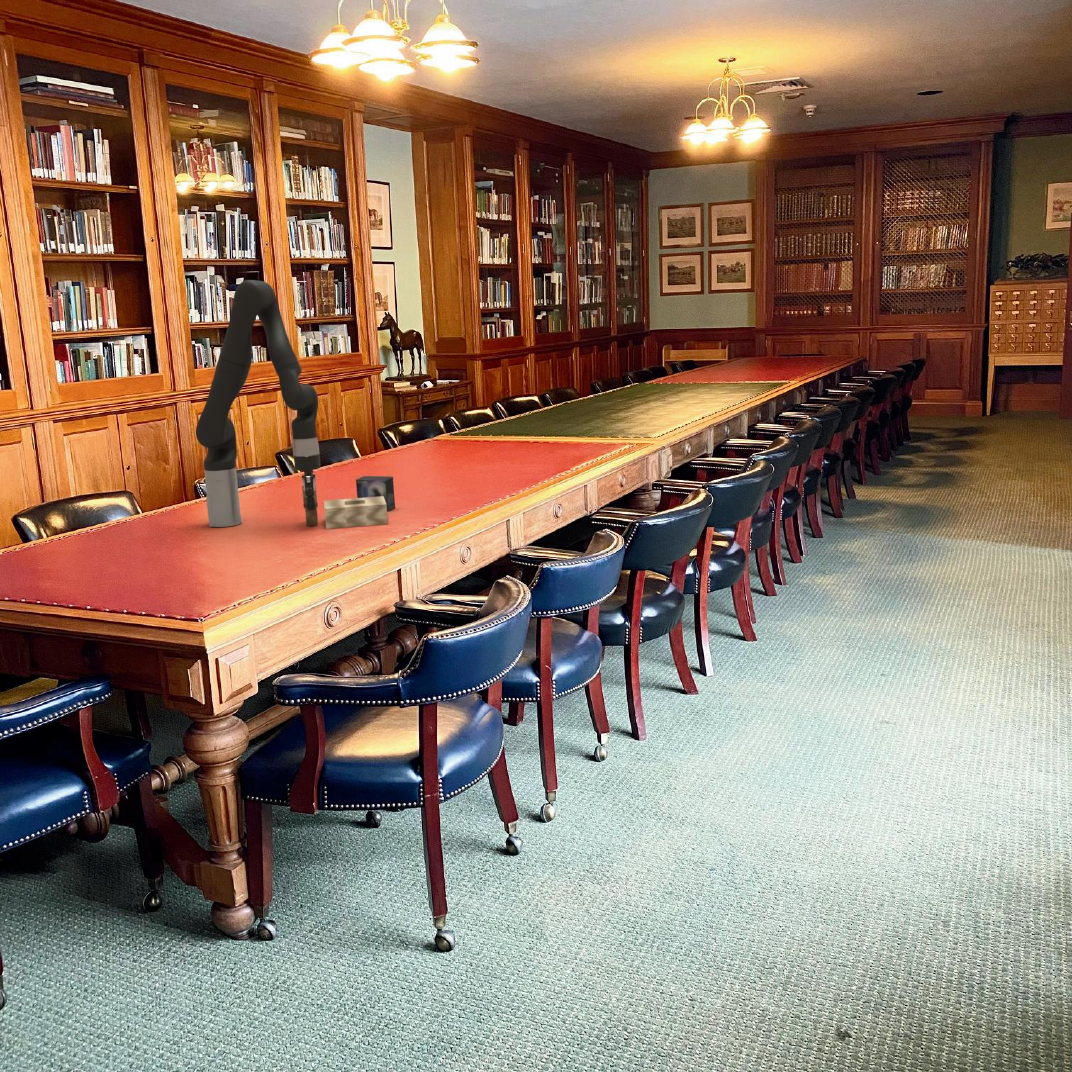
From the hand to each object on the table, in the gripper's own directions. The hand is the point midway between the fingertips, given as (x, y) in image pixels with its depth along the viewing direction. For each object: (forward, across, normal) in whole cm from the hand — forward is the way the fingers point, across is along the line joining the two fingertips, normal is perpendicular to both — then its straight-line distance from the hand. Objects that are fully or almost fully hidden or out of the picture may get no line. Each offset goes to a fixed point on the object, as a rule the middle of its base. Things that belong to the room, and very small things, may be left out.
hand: (311, 507), depth 316 cm
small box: (+6, -17, +20) cm, 27 cm away
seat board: (+6, 0, +13) cm, 14 cm away
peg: (+6, 0, 0) cm, 6 cm away
